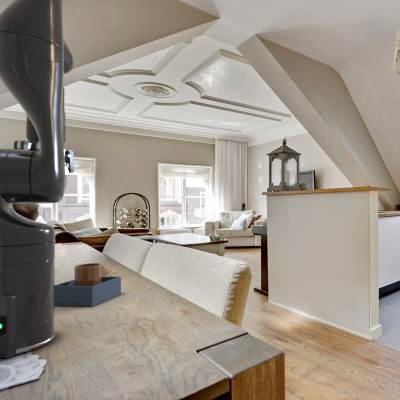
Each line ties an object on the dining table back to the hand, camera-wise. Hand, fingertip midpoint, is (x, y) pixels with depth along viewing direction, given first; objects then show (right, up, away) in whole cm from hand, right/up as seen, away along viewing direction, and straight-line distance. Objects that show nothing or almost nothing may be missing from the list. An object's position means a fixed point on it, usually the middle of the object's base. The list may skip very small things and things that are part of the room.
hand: (45, 187), depth 77 cm
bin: (+9, -28, +2) cm, 30 cm away
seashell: (-1, -29, +23) cm, 37 cm away
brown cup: (+9, -28, +2) cm, 29 cm away
